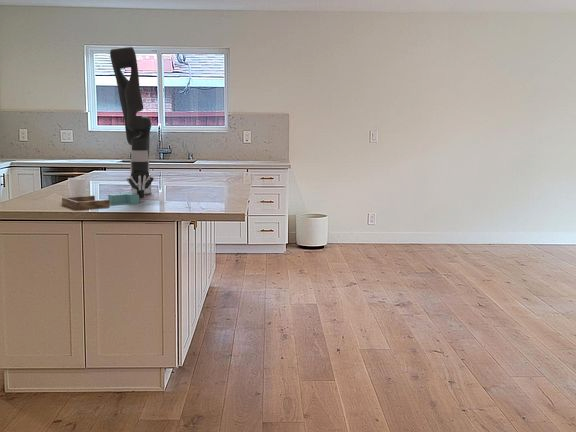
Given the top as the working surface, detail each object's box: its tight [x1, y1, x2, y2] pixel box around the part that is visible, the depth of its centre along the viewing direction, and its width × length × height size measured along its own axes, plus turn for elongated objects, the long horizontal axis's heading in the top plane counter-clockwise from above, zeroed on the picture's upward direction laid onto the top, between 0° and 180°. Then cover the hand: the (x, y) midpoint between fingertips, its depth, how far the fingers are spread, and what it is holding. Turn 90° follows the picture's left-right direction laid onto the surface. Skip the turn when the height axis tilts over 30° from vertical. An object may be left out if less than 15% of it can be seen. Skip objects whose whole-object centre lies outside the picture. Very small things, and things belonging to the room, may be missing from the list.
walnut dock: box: [61, 195, 111, 210], centre depth 266 cm, size 14×17×3 cm
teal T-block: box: [107, 191, 140, 205], centre depth 276 cm, size 11×12×4 cm
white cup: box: [67, 177, 87, 197], centre depth 282 cm, size 8×8×10 cm
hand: (140, 198), depth 281 cm, fingers closed
